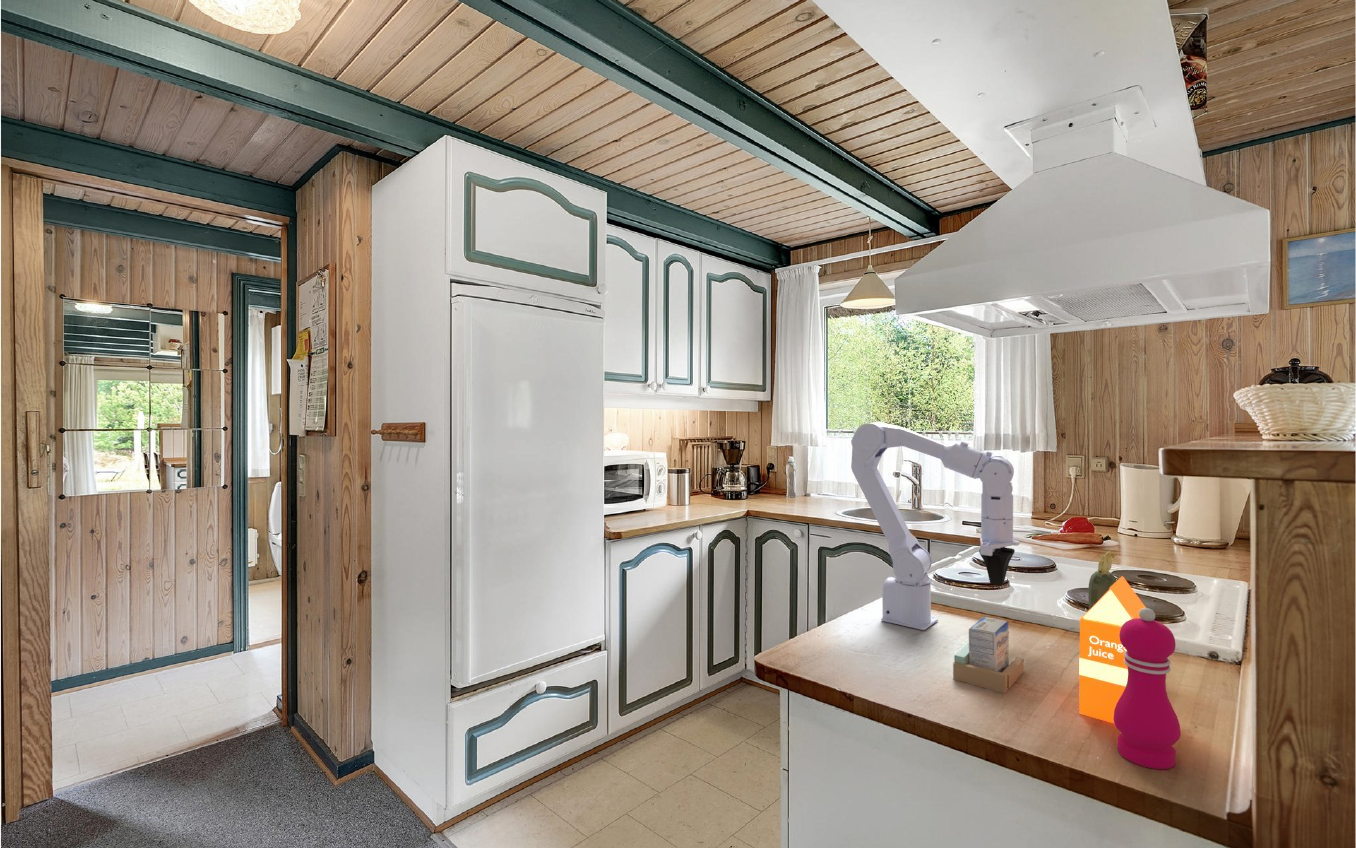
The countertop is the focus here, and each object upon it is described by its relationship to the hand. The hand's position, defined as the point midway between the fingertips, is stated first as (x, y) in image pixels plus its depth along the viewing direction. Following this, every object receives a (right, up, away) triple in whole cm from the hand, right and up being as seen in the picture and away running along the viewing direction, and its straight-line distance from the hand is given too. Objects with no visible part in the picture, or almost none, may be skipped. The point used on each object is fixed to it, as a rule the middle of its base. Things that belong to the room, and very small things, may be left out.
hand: (996, 584), depth 129 cm
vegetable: (+13, -11, -12) cm, 21 cm away
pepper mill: (-2, -12, -44) cm, 45 cm away
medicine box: (-10, -11, -17) cm, 23 cm away
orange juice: (+2, -12, -31) cm, 34 cm away
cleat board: (-7, -11, -14) cm, 20 cm away
